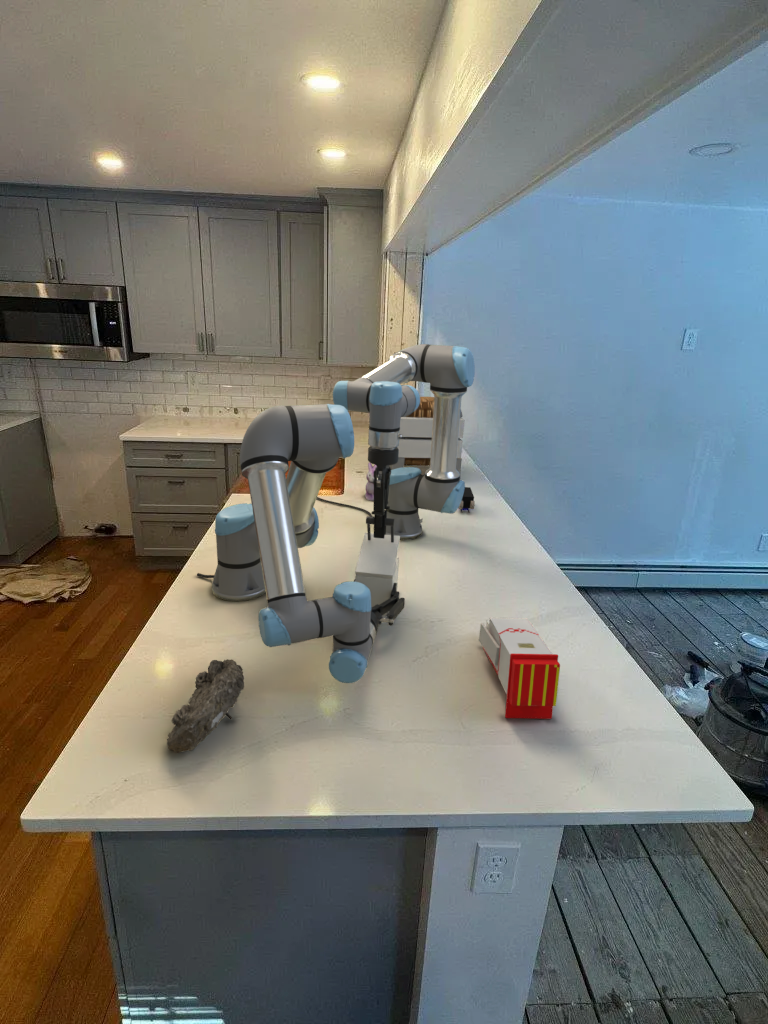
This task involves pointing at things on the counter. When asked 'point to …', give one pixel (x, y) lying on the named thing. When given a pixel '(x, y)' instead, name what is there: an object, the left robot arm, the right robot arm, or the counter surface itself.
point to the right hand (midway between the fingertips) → (379, 535)
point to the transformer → (421, 437)
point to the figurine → (370, 482)
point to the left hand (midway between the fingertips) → (375, 585)
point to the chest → (379, 586)
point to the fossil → (206, 705)
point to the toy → (522, 666)
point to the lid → (378, 552)
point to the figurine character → (467, 500)
